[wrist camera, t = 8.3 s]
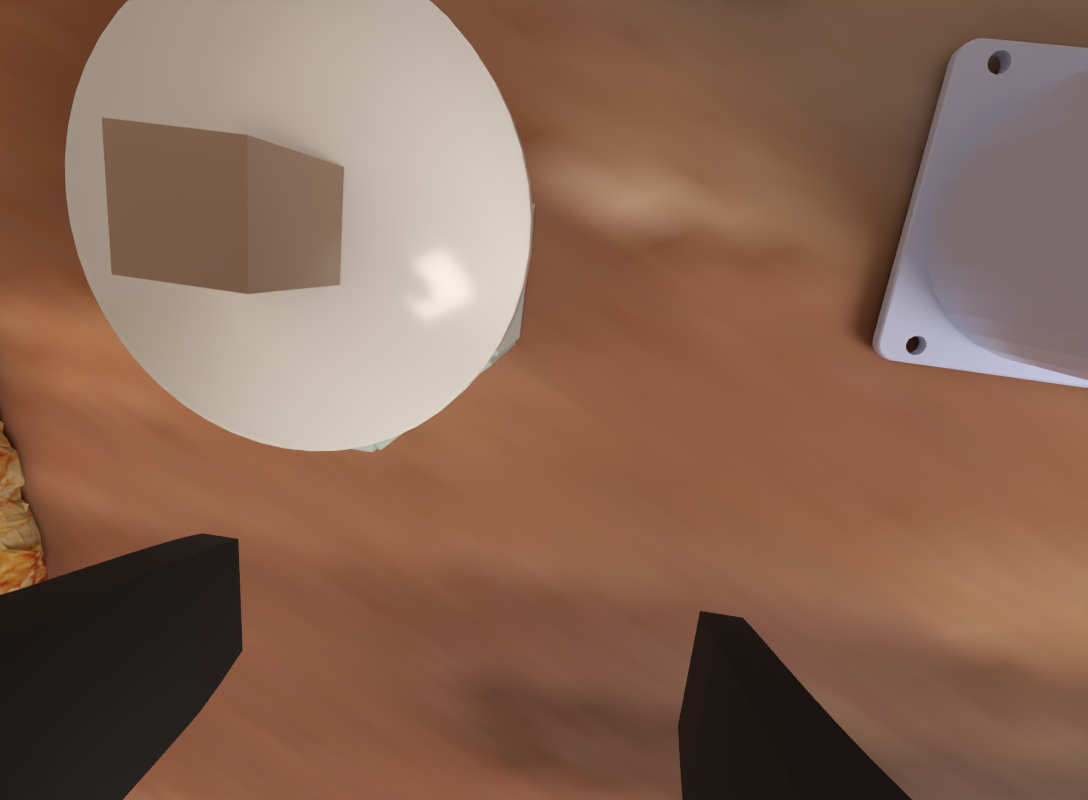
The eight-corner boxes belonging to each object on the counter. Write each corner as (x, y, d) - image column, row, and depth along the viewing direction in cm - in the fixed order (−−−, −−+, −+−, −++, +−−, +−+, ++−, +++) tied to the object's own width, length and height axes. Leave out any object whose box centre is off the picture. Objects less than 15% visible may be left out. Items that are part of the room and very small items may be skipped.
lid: (563, -20, 12) (536, -164, 8) (505, 472, 15) (463, 554, 11) (77, -64, 13) (-173, -214, 9) (109, 407, 16) (-69, 459, 12)
